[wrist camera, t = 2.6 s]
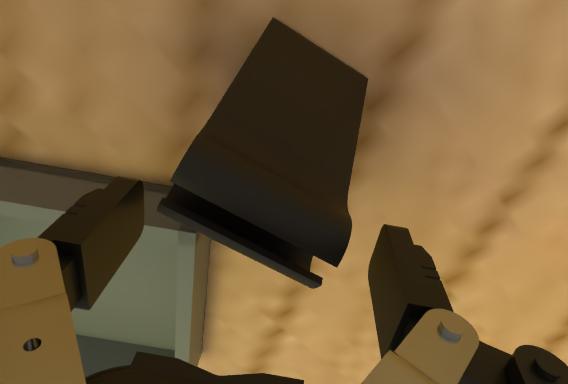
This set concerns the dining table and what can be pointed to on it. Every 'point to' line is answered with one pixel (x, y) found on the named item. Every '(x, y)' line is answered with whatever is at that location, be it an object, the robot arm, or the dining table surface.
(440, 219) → the dining table surface
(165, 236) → the tray
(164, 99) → the dining table surface
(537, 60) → the dining table surface
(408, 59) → the dining table surface
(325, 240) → the phone stand
